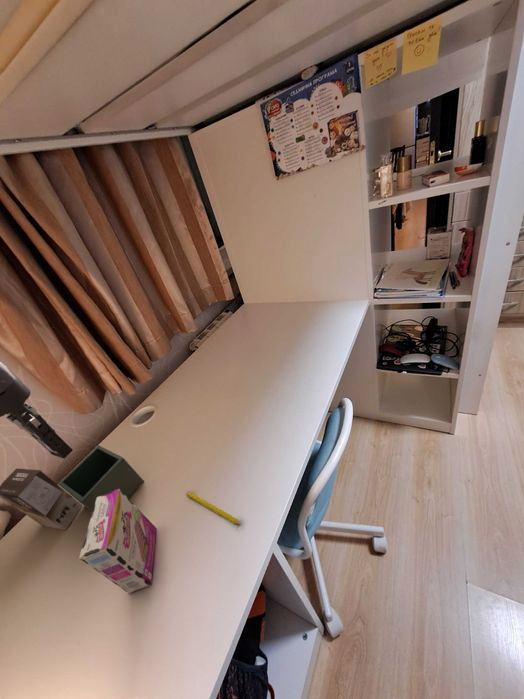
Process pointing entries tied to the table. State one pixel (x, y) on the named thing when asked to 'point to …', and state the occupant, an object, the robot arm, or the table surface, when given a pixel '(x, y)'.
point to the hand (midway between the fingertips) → (52, 443)
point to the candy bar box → (120, 542)
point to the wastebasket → (100, 477)
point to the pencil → (213, 508)
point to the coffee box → (39, 498)
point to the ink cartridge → (61, 452)
